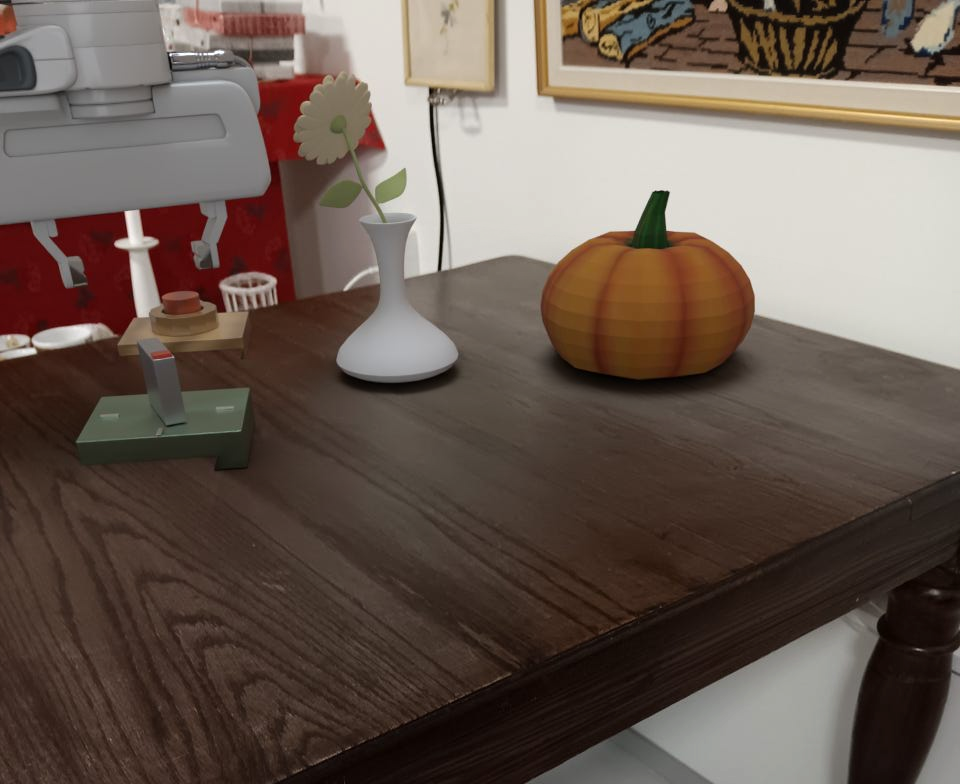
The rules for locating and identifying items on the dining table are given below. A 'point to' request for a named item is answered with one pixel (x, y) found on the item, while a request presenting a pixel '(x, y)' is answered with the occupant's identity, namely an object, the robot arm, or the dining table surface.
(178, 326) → the button block
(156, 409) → the grey panel
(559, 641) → the dining table surface
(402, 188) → the flower in vase
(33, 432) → the dining table surface
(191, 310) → the button
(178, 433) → the panel
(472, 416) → the dining table surface
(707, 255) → the pumpkin
